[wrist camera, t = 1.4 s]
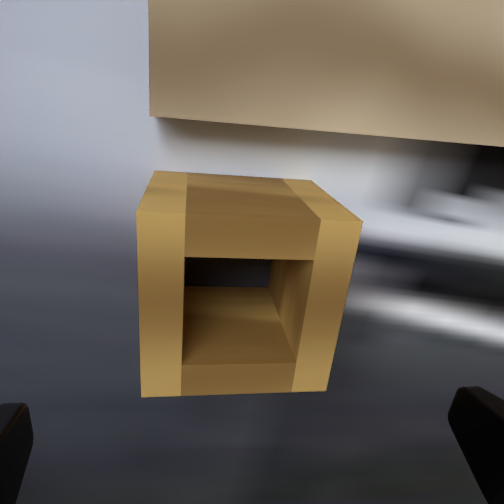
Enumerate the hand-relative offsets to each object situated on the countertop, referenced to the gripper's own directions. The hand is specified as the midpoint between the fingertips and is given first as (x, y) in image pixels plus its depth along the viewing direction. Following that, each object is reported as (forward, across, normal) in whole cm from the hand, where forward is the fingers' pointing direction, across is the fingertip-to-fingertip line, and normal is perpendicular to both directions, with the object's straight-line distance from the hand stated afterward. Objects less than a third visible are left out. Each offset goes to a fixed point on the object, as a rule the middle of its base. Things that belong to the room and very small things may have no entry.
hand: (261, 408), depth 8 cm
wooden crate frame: (+8, 0, 0) cm, 9 cm away
